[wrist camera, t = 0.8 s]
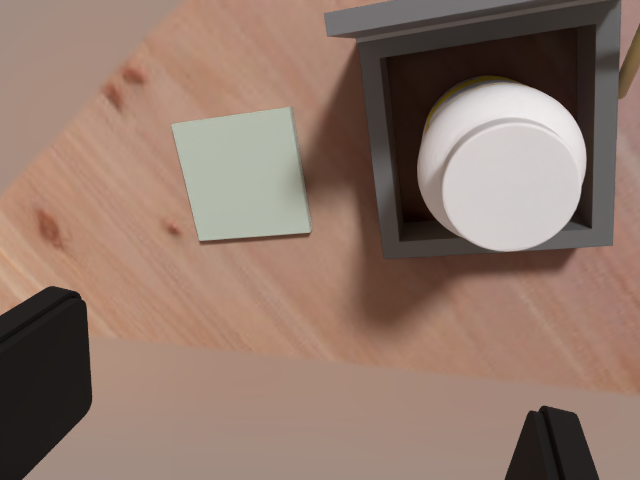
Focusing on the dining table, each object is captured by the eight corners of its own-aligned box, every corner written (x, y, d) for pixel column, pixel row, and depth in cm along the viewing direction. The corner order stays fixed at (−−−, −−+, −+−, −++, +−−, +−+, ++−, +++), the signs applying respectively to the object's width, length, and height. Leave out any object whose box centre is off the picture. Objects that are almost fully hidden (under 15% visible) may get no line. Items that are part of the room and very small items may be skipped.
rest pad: (292, 106, 31) (289, 107, 31) (312, 229, 34) (310, 232, 33) (175, 123, 33) (171, 124, 33) (203, 237, 36) (199, 240, 35)
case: (621, -22, 26) (737, -65, 16) (612, 222, 30) (699, 314, 20) (364, 24, 29) (324, 13, 19) (389, 238, 33) (366, 323, 23)
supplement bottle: (521, 200, 30) (572, 299, 19) (411, 176, 31) (393, 255, 20) (561, 85, 28) (648, 115, 16) (439, 62, 29) (438, 75, 17)
